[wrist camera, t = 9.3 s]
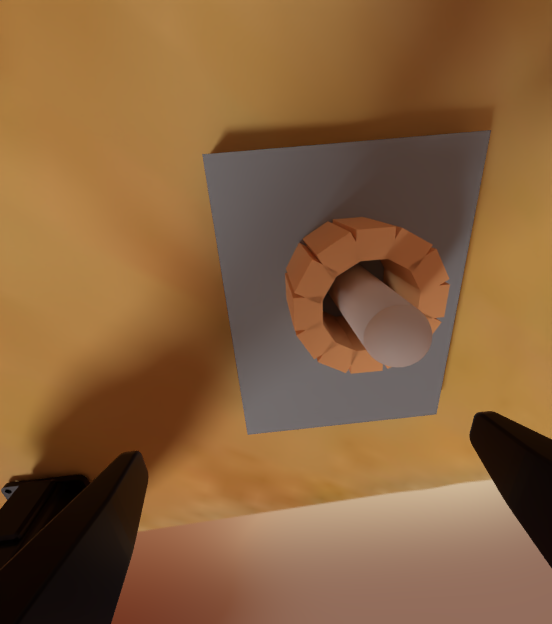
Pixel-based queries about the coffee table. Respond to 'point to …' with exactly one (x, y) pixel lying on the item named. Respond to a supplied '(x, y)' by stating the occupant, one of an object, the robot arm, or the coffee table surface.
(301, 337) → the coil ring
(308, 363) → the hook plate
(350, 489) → the coffee table surface
